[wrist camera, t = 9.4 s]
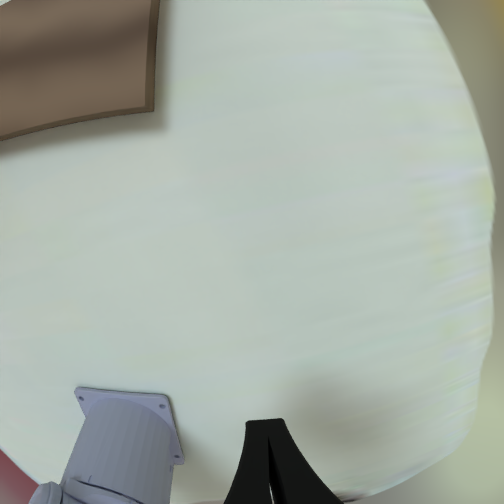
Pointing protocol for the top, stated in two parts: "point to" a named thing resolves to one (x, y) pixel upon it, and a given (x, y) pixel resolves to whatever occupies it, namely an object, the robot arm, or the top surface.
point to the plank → (74, 61)
